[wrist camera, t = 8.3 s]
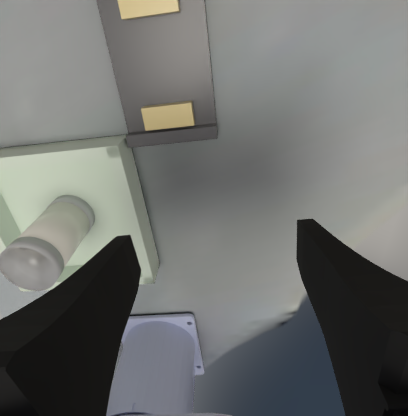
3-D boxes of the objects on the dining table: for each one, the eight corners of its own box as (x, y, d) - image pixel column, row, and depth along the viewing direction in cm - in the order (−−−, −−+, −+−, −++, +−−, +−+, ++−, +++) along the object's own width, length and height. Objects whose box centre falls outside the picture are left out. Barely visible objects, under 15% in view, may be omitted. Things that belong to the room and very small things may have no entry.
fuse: (100, 231, 25) (64, 290, 19) (58, 233, 25) (11, 291, 19) (88, 193, 23) (45, 245, 17) (44, 196, 23) (-12, 247, 17)
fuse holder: (217, 133, 21) (217, 138, 20) (132, 142, 21) (128, 147, 20) (200, -45, 16) (198, -51, 15) (92, -27, 17) (83, -32, 16)
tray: (159, 263, 27) (154, 283, 24) (36, 271, 28) (20, 291, 26) (128, 134, 21) (117, 145, 19) (-25, 151, 22) (-52, 163, 20)
